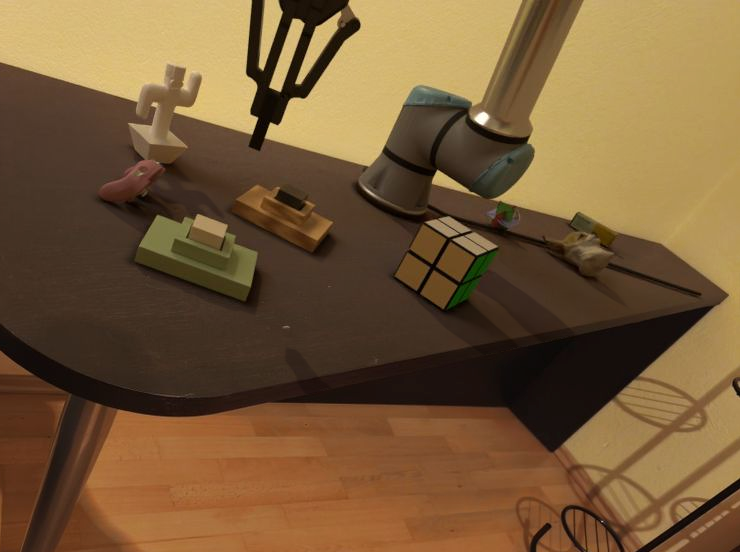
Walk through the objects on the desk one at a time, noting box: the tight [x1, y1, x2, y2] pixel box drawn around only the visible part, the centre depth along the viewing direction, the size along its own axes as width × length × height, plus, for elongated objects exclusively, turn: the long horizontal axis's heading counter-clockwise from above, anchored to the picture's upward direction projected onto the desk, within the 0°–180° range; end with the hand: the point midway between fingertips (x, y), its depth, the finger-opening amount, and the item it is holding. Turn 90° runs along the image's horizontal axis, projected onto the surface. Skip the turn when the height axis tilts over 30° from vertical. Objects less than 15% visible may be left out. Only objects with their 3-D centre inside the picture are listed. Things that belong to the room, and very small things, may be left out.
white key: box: [188, 213, 229, 250], centre depth 78 cm, size 4×4×2 cm
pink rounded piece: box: [98, 159, 166, 203], centre depth 88 cm, size 10×5×7 cm, turn 168°
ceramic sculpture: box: [541, 230, 615, 278], centre depth 142 cm, size 11×9×15 cm
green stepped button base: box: [134, 214, 259, 302], centre depth 80 cm, size 14×10×4 cm
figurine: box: [127, 61, 203, 165], centre depth 100 cm, size 7×9×15 cm
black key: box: [275, 182, 310, 211], centre depth 99 cm, size 4×4×2 cm
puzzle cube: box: [393, 216, 500, 312], centre depth 100 cm, size 10×10×10 cm
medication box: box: [568, 211, 619, 248], centre depth 172 cm, size 12×3×4 cm, turn 46°
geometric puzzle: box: [484, 200, 521, 236], centre depth 142 cm, size 7×7×8 cm
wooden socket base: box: [231, 184, 334, 253], centre depth 100 cm, size 14×10×4 cm
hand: (255, 145), depth 76 cm, fingers closed
